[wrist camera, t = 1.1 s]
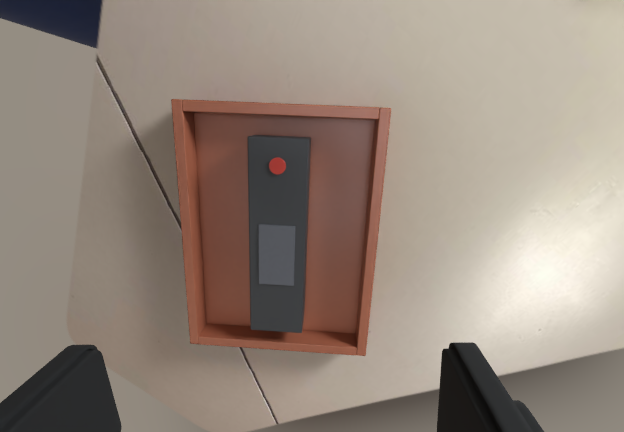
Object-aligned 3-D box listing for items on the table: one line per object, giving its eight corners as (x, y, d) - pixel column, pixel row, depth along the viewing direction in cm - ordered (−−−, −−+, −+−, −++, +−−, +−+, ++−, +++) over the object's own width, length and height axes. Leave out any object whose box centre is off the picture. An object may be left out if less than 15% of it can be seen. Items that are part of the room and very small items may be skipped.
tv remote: (256, 312, 30) (249, 331, 27) (255, 134, 25) (246, 136, 23) (304, 315, 30) (301, 334, 27) (311, 137, 25) (308, 138, 22)
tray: (201, 326, 31) (190, 343, 29) (186, 101, 25) (170, 99, 23) (362, 337, 31) (365, 356, 28) (385, 109, 25) (391, 107, 22)
